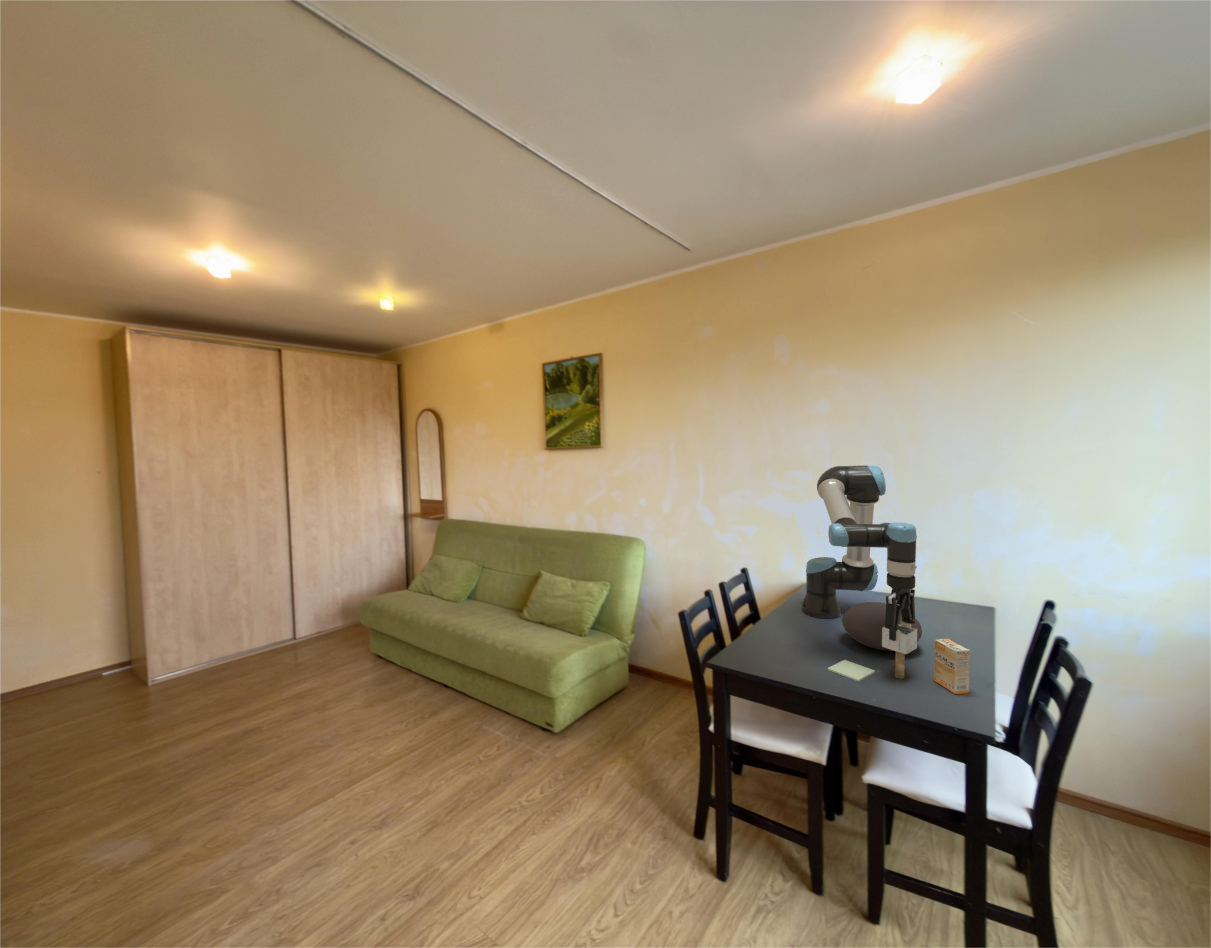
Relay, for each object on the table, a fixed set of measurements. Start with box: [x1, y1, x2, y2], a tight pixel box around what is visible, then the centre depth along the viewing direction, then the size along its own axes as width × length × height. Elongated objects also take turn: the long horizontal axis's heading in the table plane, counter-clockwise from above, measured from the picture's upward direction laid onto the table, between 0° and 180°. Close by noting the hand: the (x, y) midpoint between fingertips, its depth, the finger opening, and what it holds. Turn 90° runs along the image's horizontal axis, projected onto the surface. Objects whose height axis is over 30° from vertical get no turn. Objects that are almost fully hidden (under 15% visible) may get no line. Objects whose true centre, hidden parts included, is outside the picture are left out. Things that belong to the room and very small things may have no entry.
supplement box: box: [933, 638, 971, 695], centre depth 144 cm, size 8×5×13 cm, turn 5°
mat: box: [827, 659, 876, 682], centre depth 156 cm, size 10×10×1 cm
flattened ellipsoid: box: [841, 601, 923, 652], centre depth 174 cm, size 25×25×15 cm
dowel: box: [894, 651, 906, 680], centre depth 151 cm, size 2×2×9 cm
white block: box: [882, 624, 918, 655], centre depth 151 cm, size 7×7×6 cm
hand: (899, 646), depth 151 cm, fingers closed on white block, 7 cm apart
